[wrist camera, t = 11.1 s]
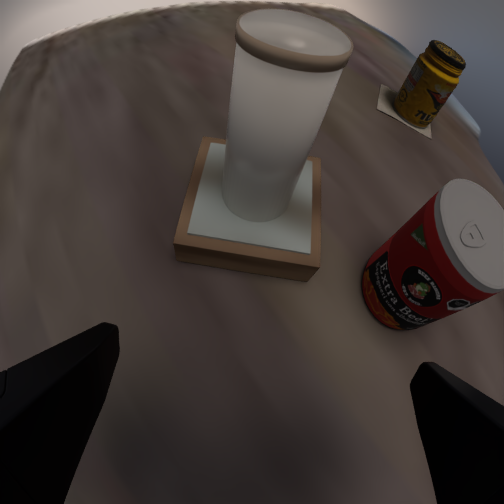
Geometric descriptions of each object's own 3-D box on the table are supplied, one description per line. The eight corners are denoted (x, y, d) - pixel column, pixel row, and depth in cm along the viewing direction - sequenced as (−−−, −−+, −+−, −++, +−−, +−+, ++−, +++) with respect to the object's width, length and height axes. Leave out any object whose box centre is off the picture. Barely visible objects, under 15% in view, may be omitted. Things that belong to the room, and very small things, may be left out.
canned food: (341, 279, 25) (418, 207, 15) (396, 233, 27) (468, 162, 17) (396, 352, 23) (497, 318, 13) (444, 296, 25) (529, 246, 15)
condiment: (430, 139, 35) (476, 76, 24) (376, 109, 35) (414, 38, 24) (429, 112, 38) (466, 55, 27) (380, 85, 38) (412, 22, 28)
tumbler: (262, 237, 21) (319, 70, 10) (205, 193, 22) (211, 23, 10) (304, 191, 23) (369, 42, 12) (250, 154, 24) (280, 3, 13)
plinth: (307, 281, 24) (321, 266, 21) (176, 260, 23) (172, 241, 20) (310, 179, 28) (321, 156, 25) (202, 159, 27) (203, 134, 25)
